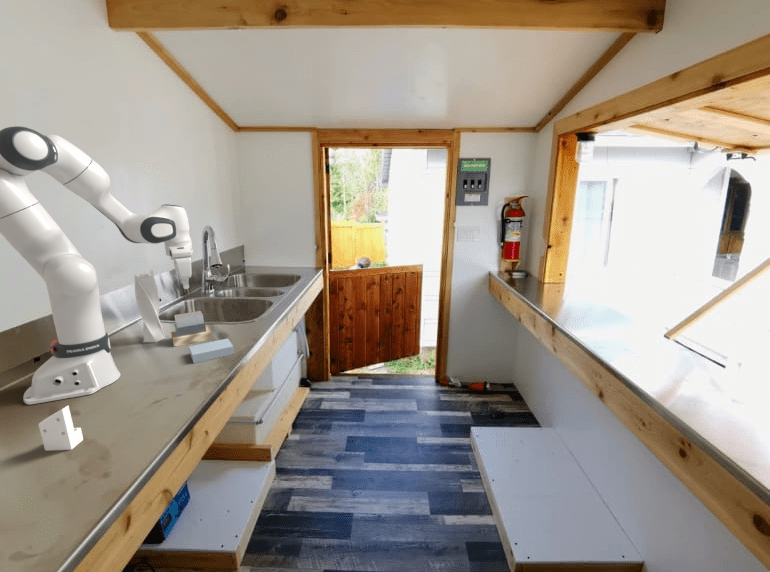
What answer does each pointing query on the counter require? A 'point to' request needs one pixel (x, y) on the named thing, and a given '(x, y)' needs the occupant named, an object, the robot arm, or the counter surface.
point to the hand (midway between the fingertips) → (184, 286)
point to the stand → (211, 350)
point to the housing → (189, 323)
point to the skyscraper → (149, 307)
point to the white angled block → (60, 431)
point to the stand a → (191, 338)
